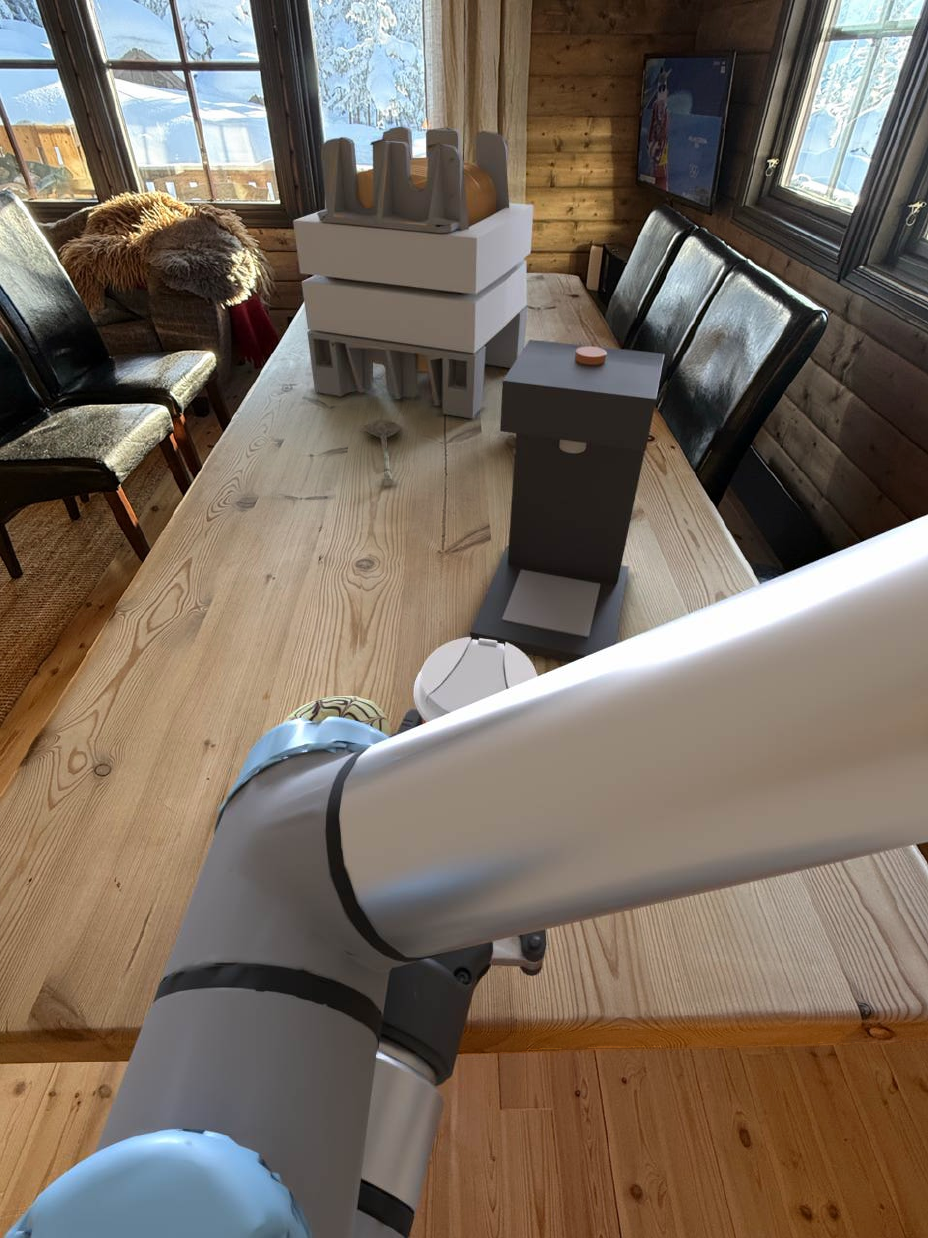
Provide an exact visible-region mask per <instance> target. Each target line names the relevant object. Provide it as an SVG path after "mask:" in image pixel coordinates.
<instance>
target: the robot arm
mask: <svg viewBox="0 0 928 1238" xmlns="http://www.w3.org/2000/svg"><path fill="white" fill-rule="evenodd" d="M239 772H240V773H239V774H238V777H237V779H236V781H235V783H234V785H233V787H232V788H231V789H230V790H229V793H228V796H227V797H226V800H225V801H224V802H223V803H221V805H220V808H219V810H218V814H217V818H216V821H215V824H214V830H213V831H214V832H213V837H212V840H211V843H210V845H209V849H208V851H207V854H206V856H205V859H204V862H203V864H202V866H201V867H202V868H201V870H200V872H199V875H198V878H197V881H196V883H195V887H194V889H193V892H192V895H191V897H190V899H189V903H188V905H187V907H186V911H185V913H184V916H183V918H182V921H181V924H180V927H179V929H178V932H177V935H176V938H175V940H174V943H173V946H172V948H171V951H170V954H169V956H168V959H167V962H166V965H165V967H164V970H163V973H162V976H161V978H160V981H159V983H158V988H157V989H156V993H155V996H154V998H153V1001H152V1004H150V1005H151V1006H149V1008H148V1011H147V1014H146V1015H145V1019H144V1021H143V1024H142V1027H141V1029H140V1032H139V1034H138V1037H137V1040H136V1042H135V1045H134V1048H133V1050H132V1052H131V1055H130V1058H129V1060H128V1063H127V1065H126V1068H125V1071H124V1073H123V1076H122V1079H121V1082H120V1083H119V1087H118V1089H117V1091H116V1094H115V1097H114V1100H113V1102H112V1105H111V1107H110V1110H109V1113H108V1115H107V1118H106V1121H105V1123H104V1125H103V1128H102V1132H101V1134H100V1136H99V1139H98V1141H97V1144H96V1147H95V1150H94V1152H93V1154H91V1155H90V1156H87V1157H86V1158H85V1159H83V1160H81V1161H80V1162H78V1163H77V1164H76V1165H74V1166H73V1167H72V1168H69V1170H67V1171H65V1172H64V1173H63V1174H62V1175H60V1176H59V1177H57V1178H56V1180H54V1181H53V1182H52V1183H51V1184H49V1185H48V1186H47V1187H46V1188H45V1189H44V1190H43V1191H42V1192H40V1193H39V1194H38V1196H37V1197H36V1198H35V1199H34V1201H33V1202H32V1203H31V1205H30V1206H29V1208H28V1209H27V1210H26V1212H24V1214H23V1215H22V1216H21V1217H19V1219H18V1220H17V1221H16V1222H15V1223H14V1224H13V1225H12V1226H11V1228H9V1230H8V1231H7V1232H6V1234H5V1235H4V1236H3V1238H410V1235H411V1232H412V1227H413V1224H414V1221H415V1215H416V1213H417V1210H418V1206H419V1203H420V1199H421V1195H422V1191H423V1187H424V1183H425V1179H426V1175H427V1173H428V1168H429V1164H430V1160H431V1156H432V1152H433V1148H434V1145H435V1141H436V1137H437V1135H438V1131H439V1126H440V1122H441V1120H442V1119H441V1118H442V1115H443V1111H444V1107H445V1100H444V1099H443V1095H442V1092H441V1090H440V1089H439V1086H441V1085H443V1084H444V1083H446V1081H447V1080H449V1079H451V1077H452V1076H453V1073H454V1069H455V1065H456V1062H457V1059H458V1053H459V1050H460V1046H461V1043H462V1038H463V1035H464V1031H465V1027H466V1022H467V1019H468V1016H469V1012H470V1007H471V1003H472V999H473V996H474V992H475V990H476V987H477V985H478V984H479V982H480V981H481V980H482V979H483V978H484V977H485V975H486V974H487V973H488V972H489V970H490V968H491V966H493V967H494V966H496V967H519V969H520V970H521V971H522V973H523V974H525V975H526V976H529V977H533V976H537V975H538V974H540V973H541V971H542V969H543V964H544V961H545V955H546V950H547V930H549V929H554V928H557V927H558V928H559V927H562V926H566V925H570V924H575V923H580V922H584V921H588V920H589V921H590V920H592V919H596V918H597V919H598V918H600V917H605V916H610V915H614V914H619V913H622V912H628V911H631V910H637V909H640V908H646V907H649V906H654V905H658V904H662V903H667V902H671V901H677V900H680V899H684V898H688V897H694V896H697V895H701V894H707V893H710V892H715V891H720V890H723V889H728V888H732V887H737V886H741V885H745V884H749V883H754V882H759V881H762V880H767V879H772V878H776V877H781V876H784V875H789V874H794V873H798V872H802V871H806V870H810V869H815V868H819V867H823V866H829V865H833V864H836V863H842V862H846V861H850V860H855V859H859V858H862V857H867V856H873V855H876V854H881V853H884V852H890V851H894V850H898V849H903V848H907V847H911V846H916V845H919V844H920V845H921V844H924V843H928V514H926V515H924V516H921V517H918V518H916V519H914V520H912V521H909V522H907V523H905V524H902V525H900V526H897V527H894V528H892V529H890V530H887V531H885V532H883V533H880V534H878V535H876V536H873V537H871V538H868V539H866V540H864V541H861V542H859V543H856V544H854V545H852V546H848V547H847V548H845V549H842V550H840V551H836V552H835V553H832V554H830V555H827V556H825V557H822V558H820V559H818V560H815V561H813V562H810V563H808V564H805V565H802V566H801V567H799V568H798V567H797V568H796V569H794V570H791V571H789V572H786V573H784V574H781V575H778V576H777V577H775V578H772V579H769V580H767V581H765V582H762V583H760V584H758V585H755V586H753V587H750V588H748V589H745V590H743V591H740V592H738V593H735V594H733V595H731V596H728V597H726V598H724V599H722V600H719V601H717V602H714V603H712V604H709V605H707V606H705V607H702V608H700V609H697V610H695V611H692V612H690V613H688V614H685V615H682V616H680V617H678V618H676V619H672V620H670V621H669V622H666V623H663V624H661V625H658V626H656V627H654V628H651V629H648V630H646V631H644V632H642V633H640V634H637V635H634V636H632V637H629V638H627V639H625V640H623V641H620V642H618V643H615V645H613V646H610V647H608V648H606V649H603V650H601V651H598V652H596V653H594V654H591V655H589V656H586V657H584V658H582V659H579V660H577V661H574V662H572V663H571V662H568V663H567V664H564V665H562V666H560V667H557V668H555V669H553V670H550V671H548V672H546V673H543V674H540V675H538V677H536V678H533V679H531V680H529V681H526V682H524V683H521V684H519V685H516V686H514V687H512V688H509V689H507V690H504V691H502V692H500V693H497V694H495V695H492V696H490V697H488V698H485V699H483V700H480V701H478V702H476V703H473V704H471V705H468V706H466V707H463V708H461V709H459V710H456V711H454V712H451V713H449V714H447V715H444V716H442V717H439V718H437V719H435V720H432V721H430V722H427V723H425V724H423V723H422V716H421V715H420V713H419V712H418V710H417V709H415V708H410V709H408V710H407V712H405V714H404V716H403V718H402V721H401V723H400V724H399V728H398V729H397V732H396V733H391V735H390V736H387V735H385V734H384V733H382V732H381V731H379V730H377V729H375V728H373V727H371V726H369V725H366V724H364V723H361V722H358V721H354V720H351V719H346V718H341V717H328V718H326V719H325V720H324V721H322V722H311V721H309V720H307V719H305V718H298V719H295V720H291V721H288V722H285V723H283V722H281V723H280V724H278V725H276V726H274V727H273V728H271V729H270V730H269V731H267V732H265V733H264V734H263V735H262V736H261V737H260V738H259V739H258V740H257V741H256V742H255V744H254V745H253V747H252V748H251V749H250V751H249V753H248V755H247V757H246V759H245V762H244V763H243V766H242V768H241V770H240V771H239Z"/></svg>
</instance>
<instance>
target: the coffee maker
mask: <svg viewBox="0 0 928 1238" xmlns="http://www.w3.org/2000/svg"><path fill="white" fill-rule="evenodd" d="M664 359H665V353H657V352H649V351H639V350H630V349H621V348H610V347H604V346H603V347H601V346H594V345H593V346H592V345H583V344H574V343H573V344H572V343H563V342H554V341H545V340H537V339H536V340H535V339H529V340H528V341H527V343H526V344H525V345H524V349H523V351H522V352H521V354H520V355H519V357H518V358H517V360H516V361H515V363H514V364H513V366H512V367H511V368H509V371H508V372H507V373H506V375H505V376H504V377H503V379H502V381H501V401H500V402H501V405H500V424H499V432H502V433H509V434H512V433H516V437H515V442H514V443H515V444H514V459H513V461H514V462H513V474H512V489H511V490H512V491H511V505H510V507H511V508H510V520H509V533H508V534H509V535H508V536H509V537H508V545H506V547H505V550H504V552H503V554H502V556H501V558H500V561H499V563H498V565H497V568H496V570H495V572H494V575H493V577H492V580H491V582H490V585H489V586H488V589H487V591H486V594H485V596H484V599H483V601H482V602H481V604H480V607H479V610H478V612H477V614H476V617H475V620H474V622H473V625H472V626H471V628H470V631H469V637H471V641H472V640H479V638H482V639H489V640H496V641H497V643H501V644H504V646H505V643H506V642H507V643H509V644H511V645H513V646H515V647H517V648H518V649H519V650H521V651H522V652H523V653H524V654H529V655H533V656H538V657H543V658H547V659H551V660H552V659H553V660H557V661H562V662H567V663H572V662H574V661H577V660H579V659H582V658H584V657H586V656H589V655H591V654H594V653H596V652H598V651H601V650H603V649H606V648H608V647H610V646H613V645H615V644H617V643H616V642H617V637H618V631H619V625H620V620H621V613H622V610H623V609H622V608H623V603H624V597H625V590H626V585H627V580H628V573H629V568H630V567H629V566H628V565H624V564H622V563H623V559H624V554H625V548H626V544H627V540H628V535H629V530H630V526H631V525H630V524H631V521H632V520H631V519H632V515H633V510H634V505H635V501H636V496H637V492H638V486H639V481H640V477H641V473H642V472H641V471H642V466H643V462H644V457H645V452H646V451H647V446H648V442H649V437H650V432H651V428H652V422H653V418H654V414H655V413H654V412H655V408H656V403H657V398H658V393H659V392H658V391H659V387H660V381H661V377H662V376H661V375H662V369H663V365H664Z"/></svg>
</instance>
